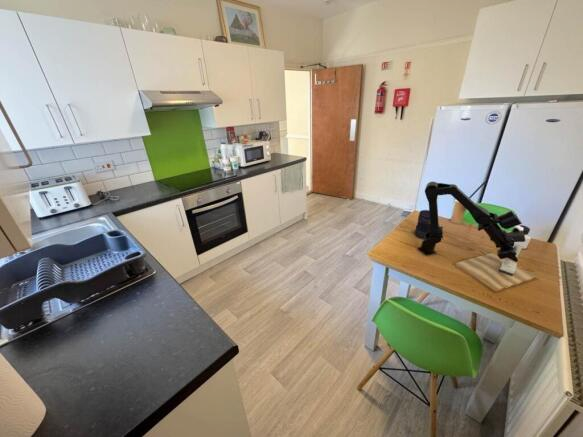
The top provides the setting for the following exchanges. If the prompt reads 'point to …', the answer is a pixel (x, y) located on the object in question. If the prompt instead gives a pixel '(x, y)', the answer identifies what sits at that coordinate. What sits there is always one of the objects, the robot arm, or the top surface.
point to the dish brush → (510, 263)
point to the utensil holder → (460, 209)
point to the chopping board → (493, 272)
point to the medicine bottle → (527, 238)
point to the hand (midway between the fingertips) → (516, 259)
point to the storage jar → (423, 224)
